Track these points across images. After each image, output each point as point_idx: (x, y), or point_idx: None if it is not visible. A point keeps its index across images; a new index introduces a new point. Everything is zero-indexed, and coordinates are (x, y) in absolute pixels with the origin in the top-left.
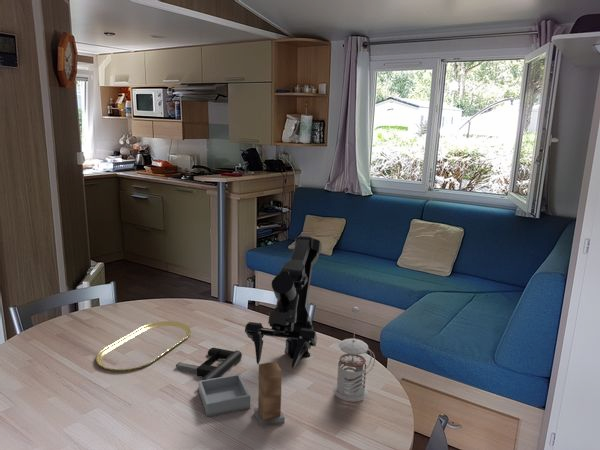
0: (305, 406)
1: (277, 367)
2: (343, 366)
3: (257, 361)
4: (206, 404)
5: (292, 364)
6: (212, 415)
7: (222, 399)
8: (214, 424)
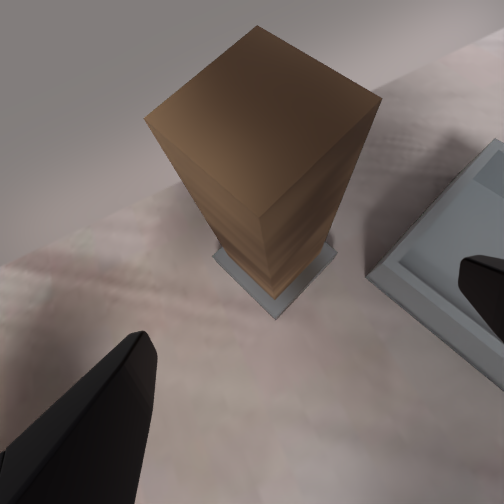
0: (180, 388)
1: (194, 134)
2: None
3: (479, 256)
4: (495, 141)
5: (130, 346)
6: (450, 183)
7: None
8: (410, 157)
